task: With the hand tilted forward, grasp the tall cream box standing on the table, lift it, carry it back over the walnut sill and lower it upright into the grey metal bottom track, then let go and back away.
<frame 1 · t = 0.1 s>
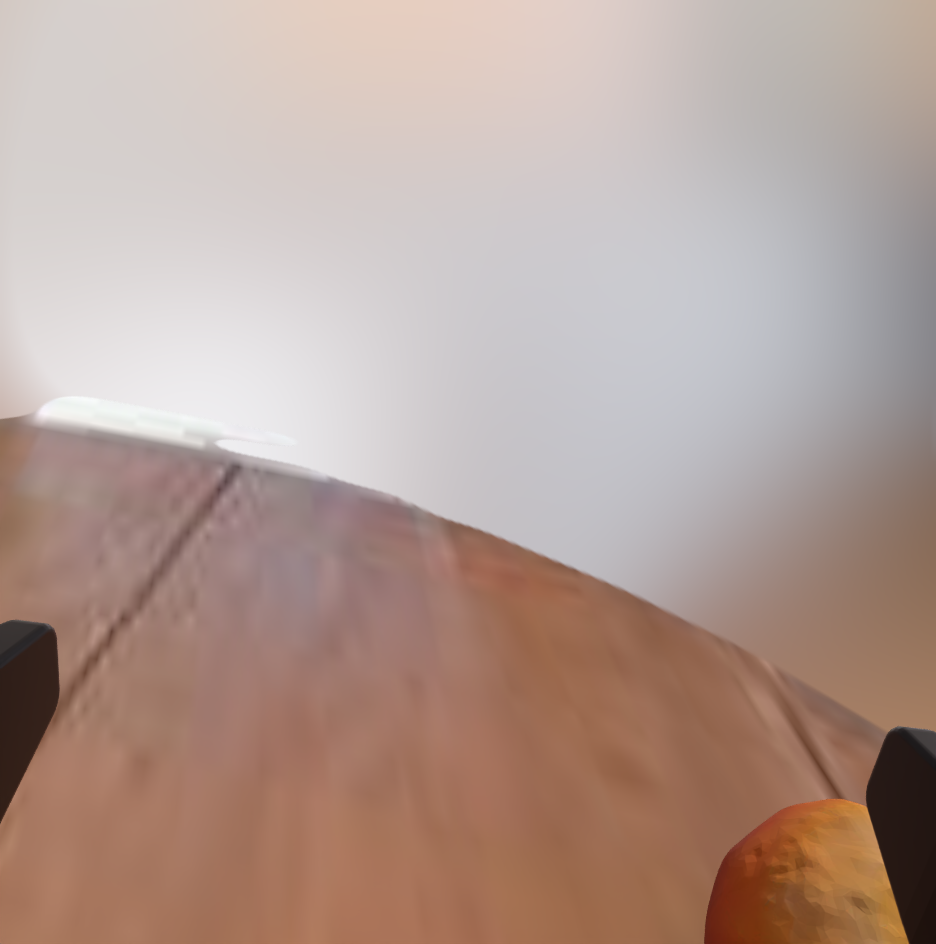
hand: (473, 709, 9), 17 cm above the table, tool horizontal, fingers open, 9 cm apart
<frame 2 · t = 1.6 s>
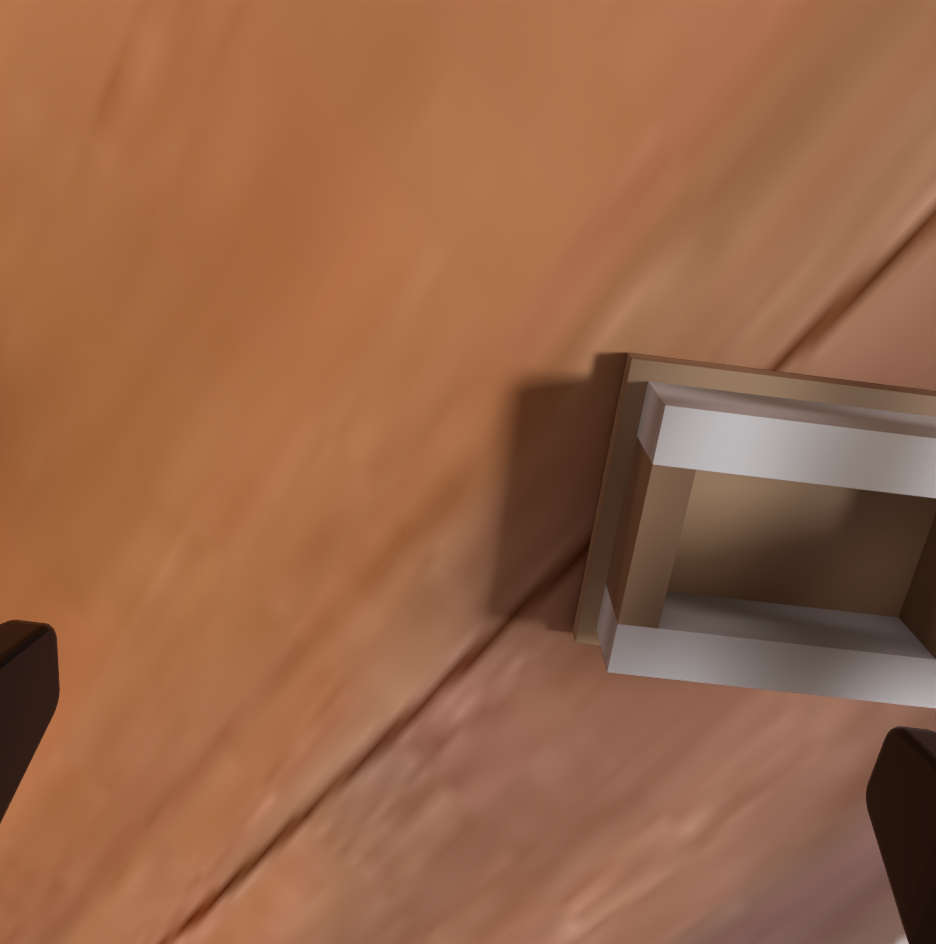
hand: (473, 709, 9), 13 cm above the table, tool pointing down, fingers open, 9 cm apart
track: (784, 522, 23), on the table
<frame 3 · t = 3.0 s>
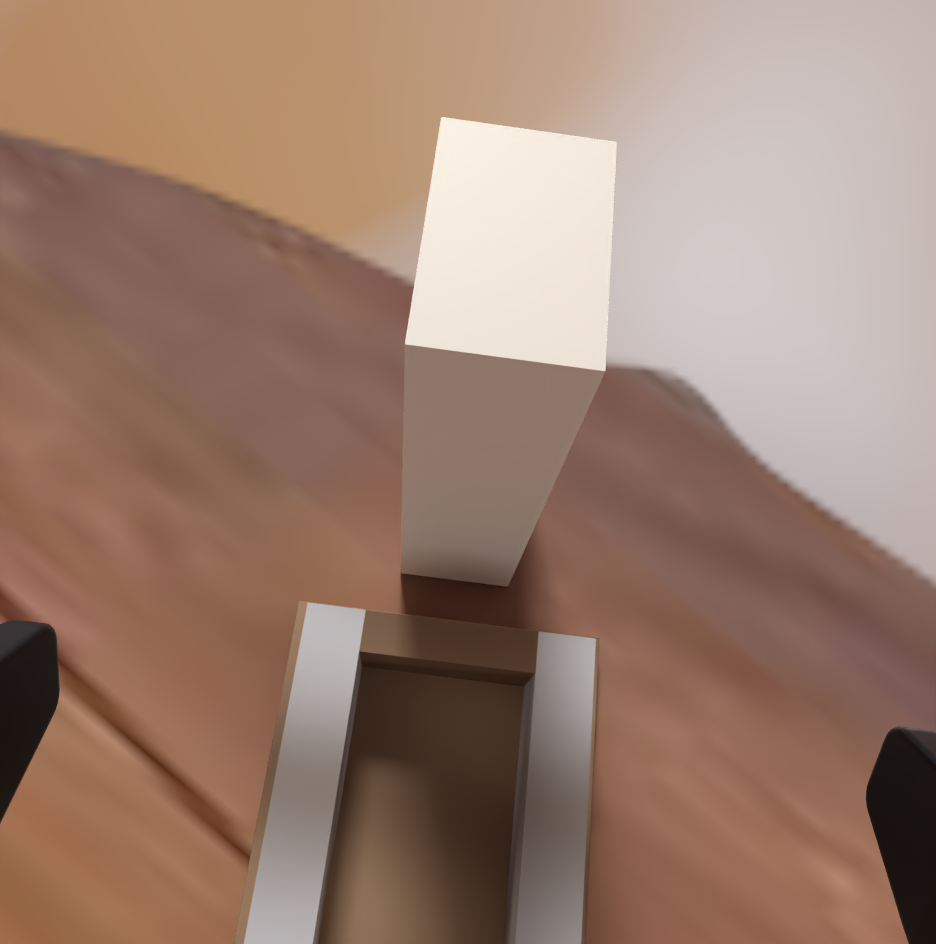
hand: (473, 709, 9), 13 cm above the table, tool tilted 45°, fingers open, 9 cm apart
track: (425, 822, 21), on the table
tall cream box: (463, 504, 25), on the table
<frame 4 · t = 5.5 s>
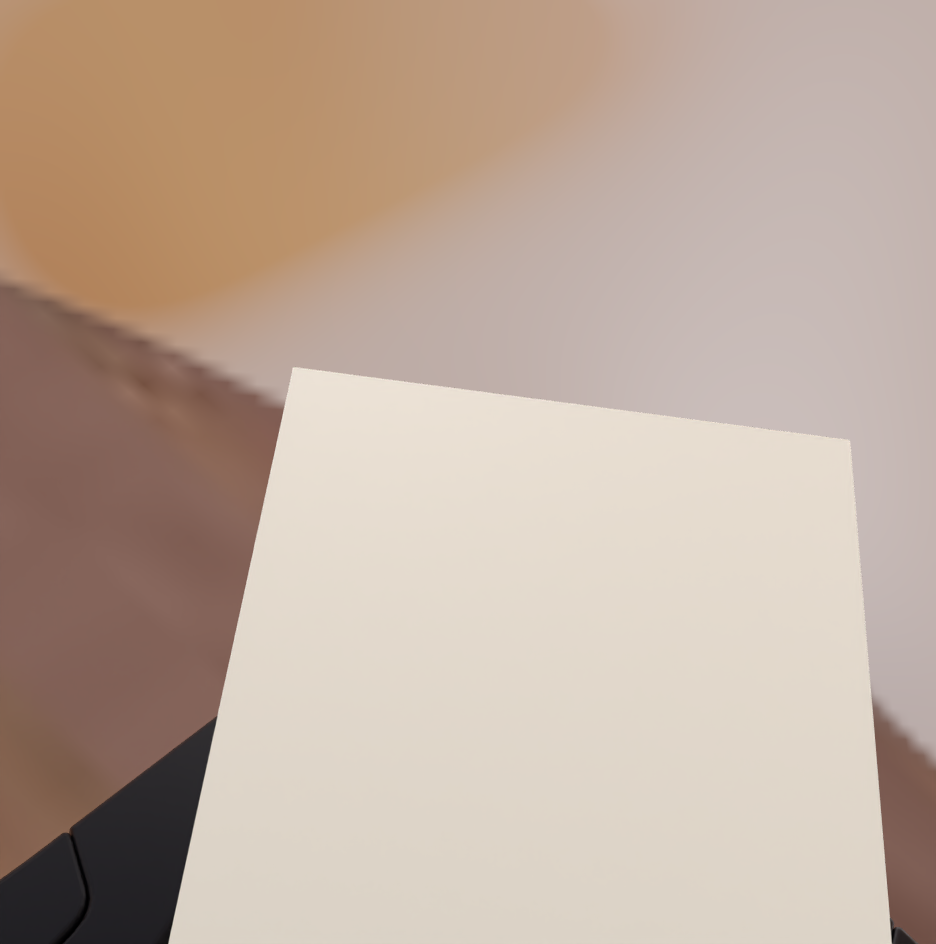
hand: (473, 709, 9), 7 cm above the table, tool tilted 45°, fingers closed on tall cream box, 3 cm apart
tall cream box: (432, 845, 15), on the table, touching gripper
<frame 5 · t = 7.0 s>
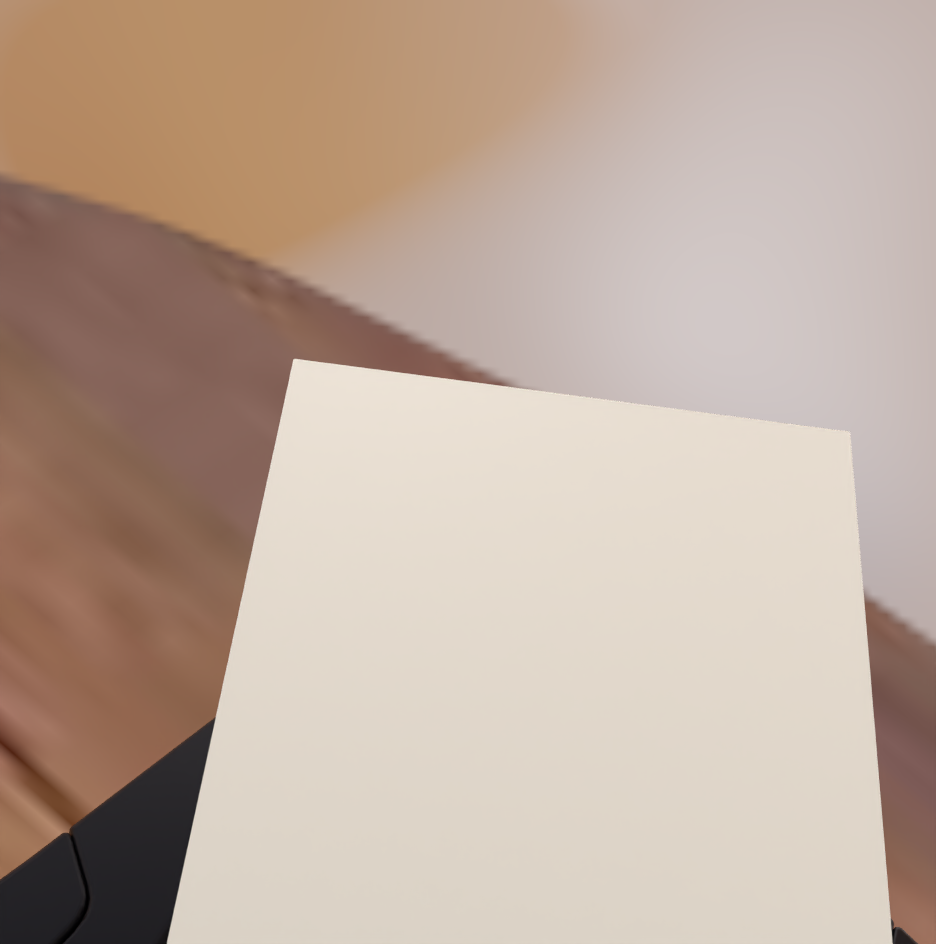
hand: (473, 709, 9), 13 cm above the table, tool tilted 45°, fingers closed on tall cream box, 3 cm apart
tall cream box: (433, 842, 15), point 6 cm above the table, touching gripper
when the fingers open (9 cm above the table, at t = 8.6 s): tall cream box drops 1 cm, resting on track.
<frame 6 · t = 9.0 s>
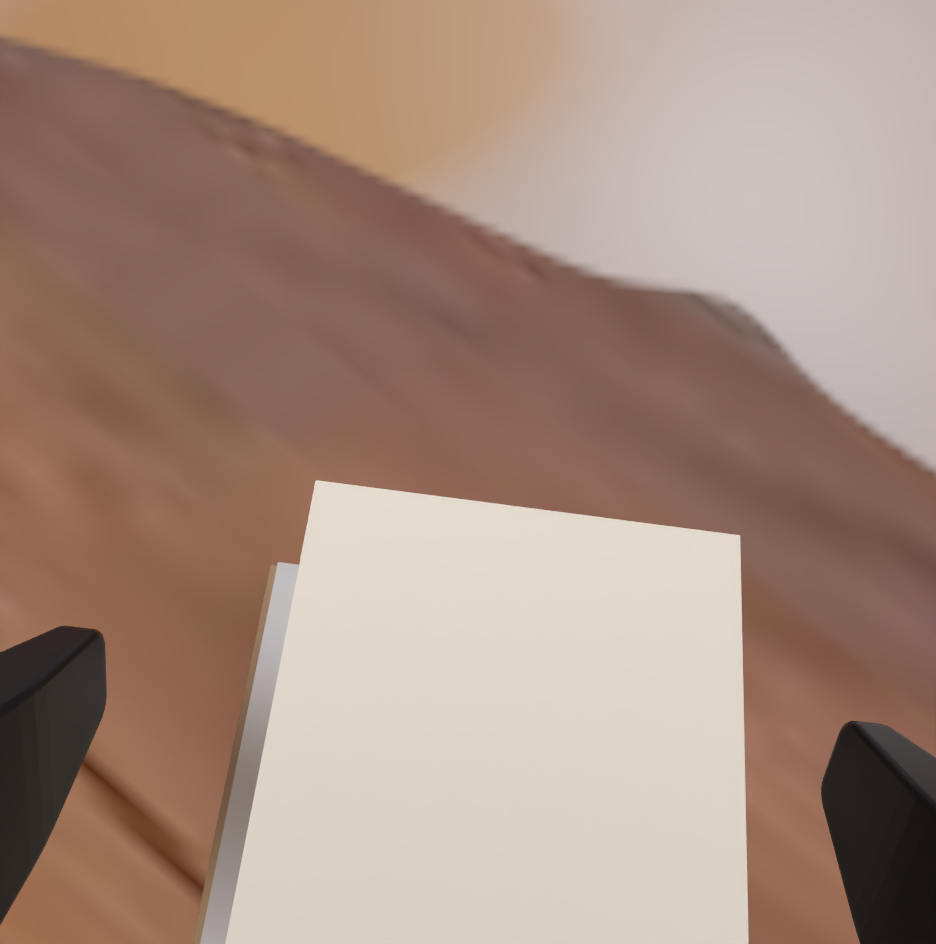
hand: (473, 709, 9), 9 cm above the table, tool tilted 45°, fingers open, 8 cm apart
track: (429, 844, 17), on the table
tall cream box: (428, 844, 16), point 1 cm above the table, touching track
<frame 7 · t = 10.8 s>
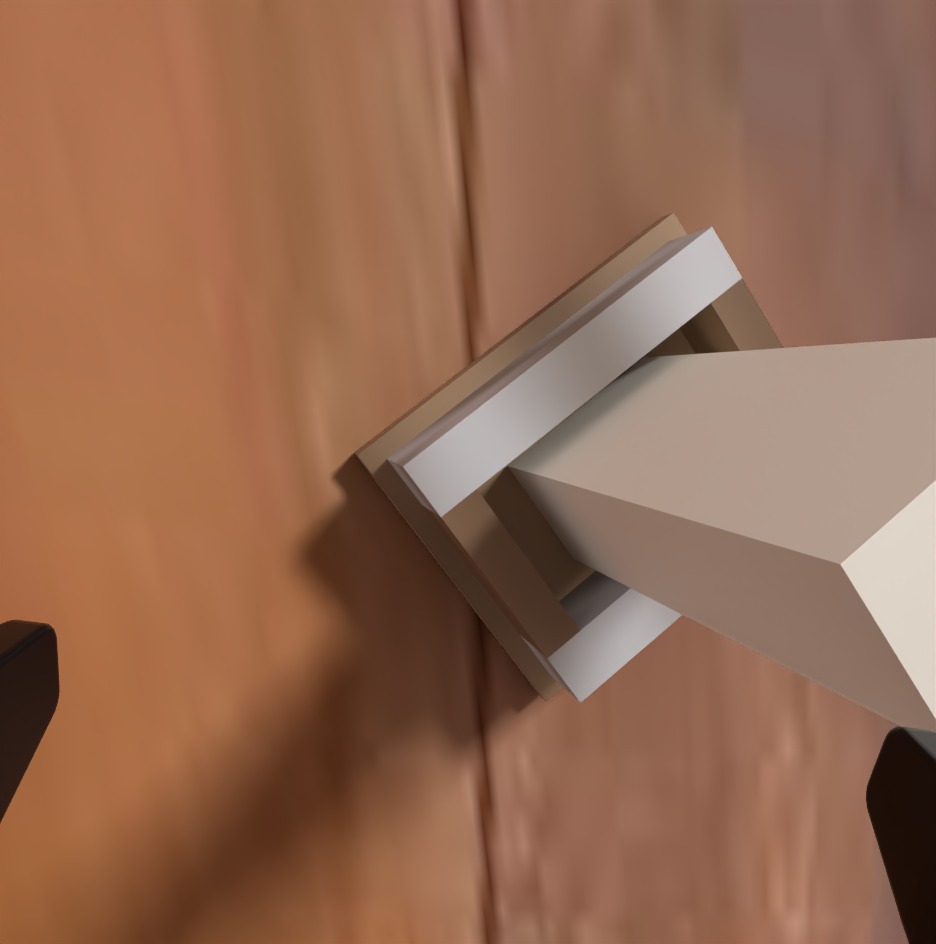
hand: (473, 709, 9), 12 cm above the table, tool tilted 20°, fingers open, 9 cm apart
track: (599, 457, 22), on the table
tall cream box: (608, 458, 22), point 1 cm above the table, touching track
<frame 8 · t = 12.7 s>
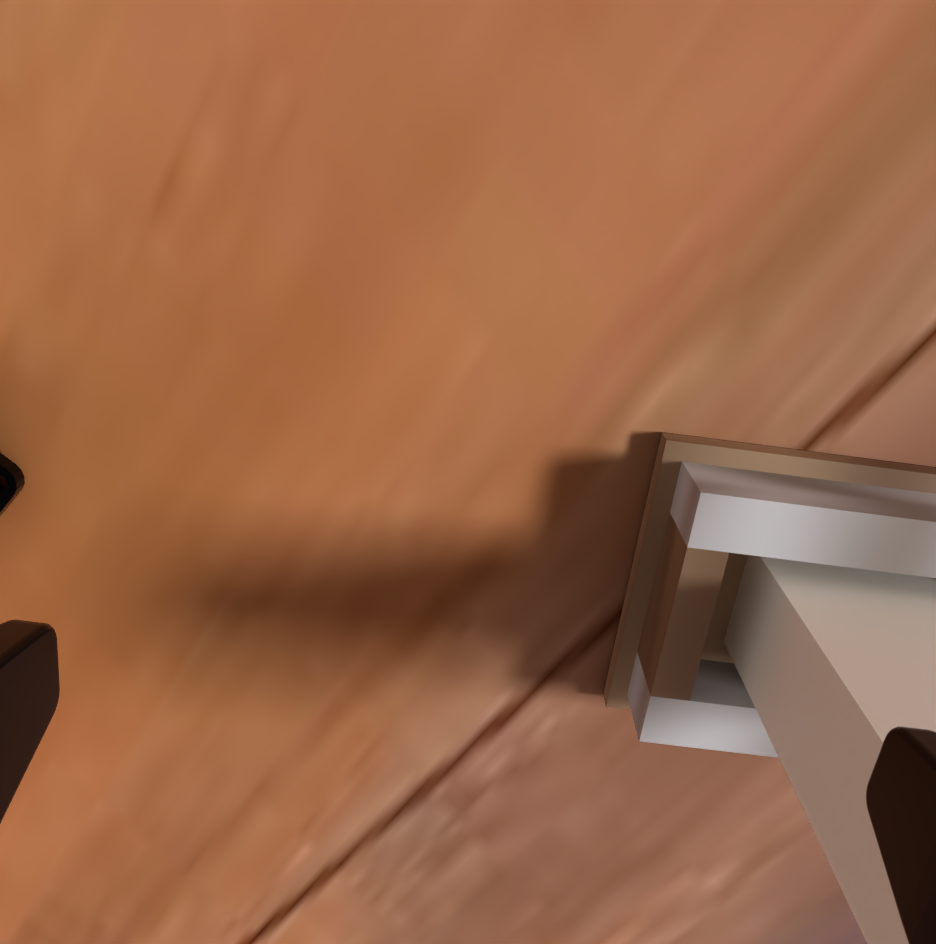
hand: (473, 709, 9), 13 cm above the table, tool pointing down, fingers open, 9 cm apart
track: (811, 593, 23), on the table
tall cream box: (820, 603, 23), point 1 cm above the table, touching track
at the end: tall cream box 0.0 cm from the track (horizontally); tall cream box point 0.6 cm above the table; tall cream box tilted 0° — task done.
